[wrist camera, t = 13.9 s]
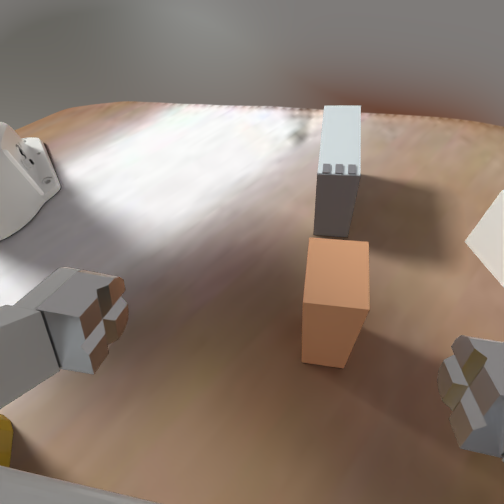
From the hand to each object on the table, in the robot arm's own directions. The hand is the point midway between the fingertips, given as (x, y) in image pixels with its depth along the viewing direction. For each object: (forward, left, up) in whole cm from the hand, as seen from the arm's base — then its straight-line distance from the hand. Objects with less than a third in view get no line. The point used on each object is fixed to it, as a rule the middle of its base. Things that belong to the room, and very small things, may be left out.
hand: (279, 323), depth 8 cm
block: (-6, +6, -26) cm, 27 cm away
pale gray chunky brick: (-22, +16, -26) cm, 37 cm away
